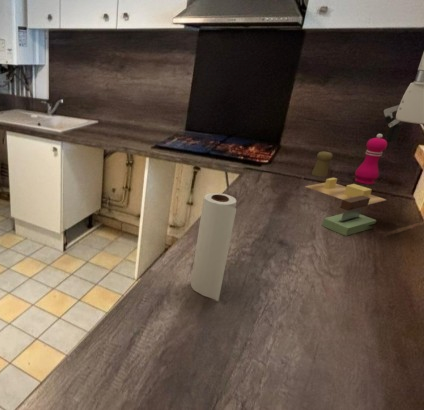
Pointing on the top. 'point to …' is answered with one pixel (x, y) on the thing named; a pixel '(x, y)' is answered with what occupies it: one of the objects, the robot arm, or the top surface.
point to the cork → (322, 164)
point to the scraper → (353, 207)
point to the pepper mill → (371, 161)
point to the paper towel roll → (213, 244)
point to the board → (340, 192)
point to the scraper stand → (348, 224)
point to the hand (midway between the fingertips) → (411, 144)
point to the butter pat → (330, 183)
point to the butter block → (357, 191)
